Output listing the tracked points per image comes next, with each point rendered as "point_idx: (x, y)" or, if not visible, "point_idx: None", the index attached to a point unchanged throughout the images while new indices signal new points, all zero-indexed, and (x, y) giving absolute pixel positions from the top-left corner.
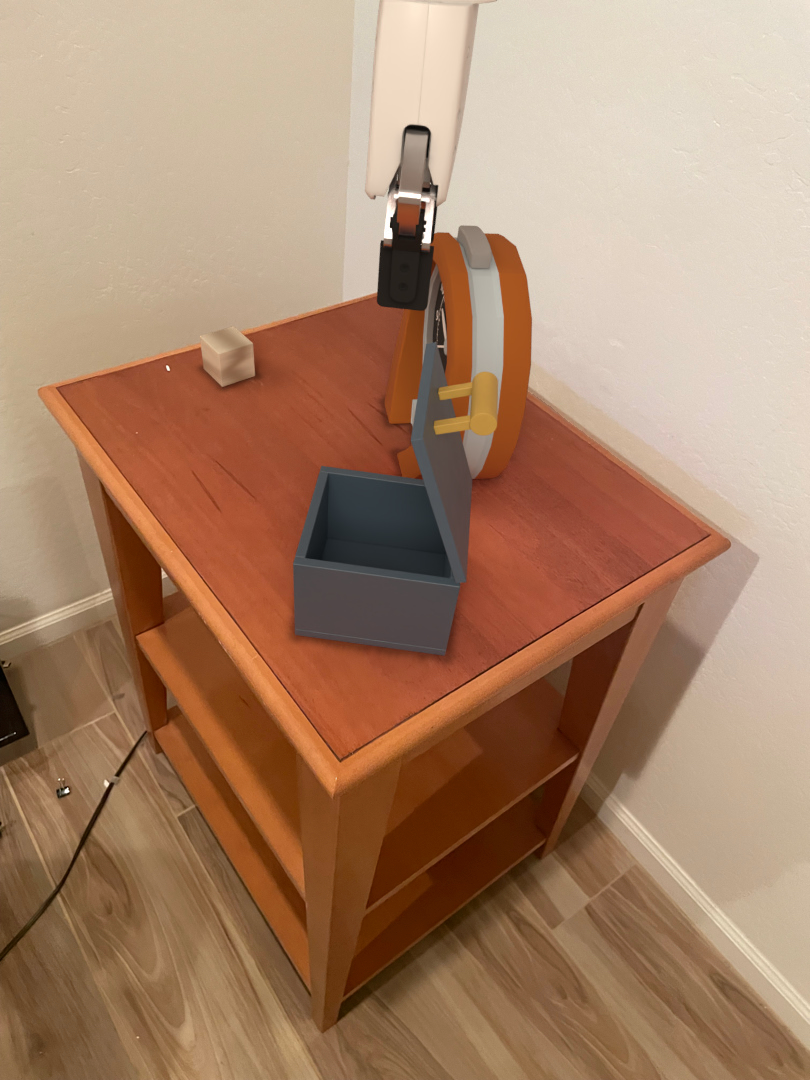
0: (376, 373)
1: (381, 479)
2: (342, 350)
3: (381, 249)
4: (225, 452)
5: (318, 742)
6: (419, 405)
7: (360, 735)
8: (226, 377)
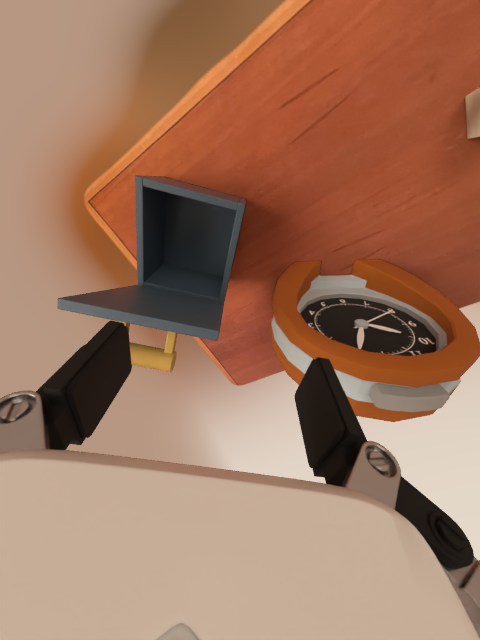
0: (420, 257)
1: (228, 251)
2: (467, 232)
3: (52, 380)
4: (356, 108)
5: (95, 189)
6: (111, 312)
7: (105, 214)
8: (473, 100)
